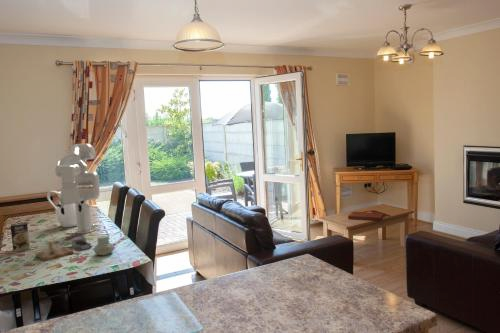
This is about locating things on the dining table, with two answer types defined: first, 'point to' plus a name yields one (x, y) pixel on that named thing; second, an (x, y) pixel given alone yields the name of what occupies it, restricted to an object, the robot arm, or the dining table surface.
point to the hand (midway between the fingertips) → (71, 212)
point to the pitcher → (69, 212)
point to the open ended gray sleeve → (80, 243)
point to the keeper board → (57, 254)
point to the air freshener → (103, 246)
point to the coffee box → (20, 236)
